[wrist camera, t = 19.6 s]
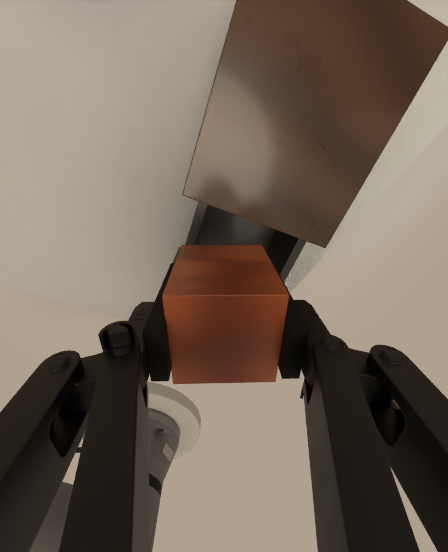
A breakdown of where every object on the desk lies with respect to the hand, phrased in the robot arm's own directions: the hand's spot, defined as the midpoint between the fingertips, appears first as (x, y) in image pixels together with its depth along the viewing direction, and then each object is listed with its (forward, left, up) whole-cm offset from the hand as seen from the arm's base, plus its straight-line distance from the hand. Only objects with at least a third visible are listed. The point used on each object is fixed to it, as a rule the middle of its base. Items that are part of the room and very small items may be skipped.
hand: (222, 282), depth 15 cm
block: (0, 0, 0) cm, 0 cm away
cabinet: (+5, +10, -15) cm, 18 cm away
